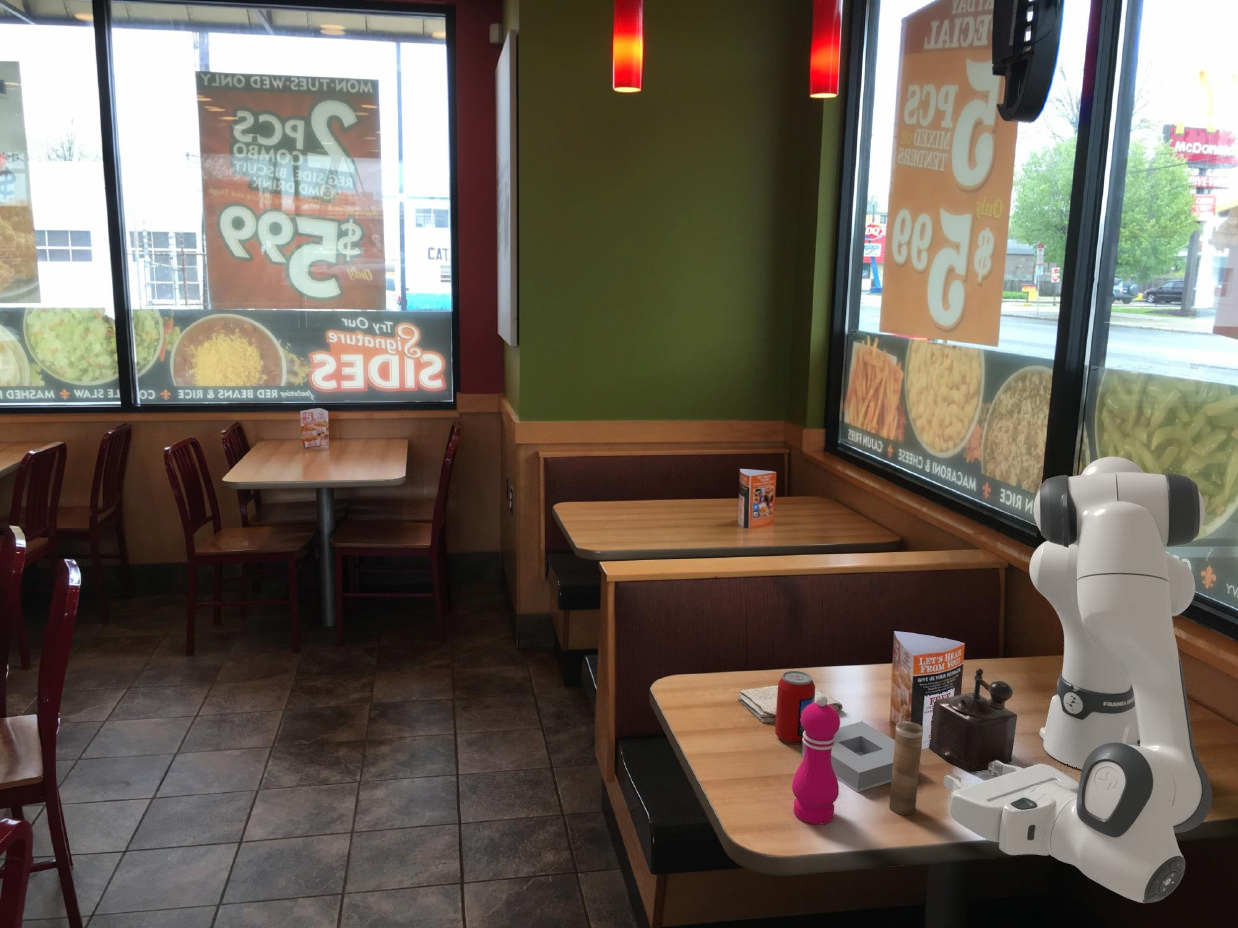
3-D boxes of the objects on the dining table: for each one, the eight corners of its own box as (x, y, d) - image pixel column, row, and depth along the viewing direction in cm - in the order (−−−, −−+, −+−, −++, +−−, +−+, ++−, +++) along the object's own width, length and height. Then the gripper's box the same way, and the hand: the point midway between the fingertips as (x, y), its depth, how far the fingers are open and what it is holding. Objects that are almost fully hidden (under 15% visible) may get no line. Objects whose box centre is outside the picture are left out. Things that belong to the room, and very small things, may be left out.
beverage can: (811, 748, 172) (816, 686, 170) (773, 743, 174) (777, 681, 171) (811, 731, 179) (816, 671, 177) (775, 727, 180) (779, 667, 178)
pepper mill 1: (842, 826, 148) (852, 705, 144) (797, 826, 147) (805, 705, 143) (829, 801, 155) (837, 685, 151) (785, 801, 154) (793, 685, 150)
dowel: (901, 799, 156) (909, 719, 153) (920, 811, 152) (928, 729, 150) (883, 805, 154) (890, 724, 151) (902, 817, 150) (910, 735, 148)
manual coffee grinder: (923, 748, 174) (932, 654, 170) (968, 737, 178) (978, 646, 175) (990, 789, 160) (1001, 688, 157) (1037, 776, 165) (1048, 678, 161)
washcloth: (733, 702, 192) (734, 687, 191) (809, 690, 198) (810, 676, 198) (763, 727, 181) (764, 712, 180) (843, 714, 188) (844, 699, 187)
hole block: (860, 738, 177) (861, 721, 176) (918, 773, 165) (919, 754, 164) (801, 755, 170) (803, 736, 169) (857, 792, 158) (859, 772, 157)
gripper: (1103, 779, 133) (1019, 738, 145) (1005, 813, 123) (923, 766, 135) (1097, 821, 134) (1014, 777, 146) (999, 858, 124) (918, 807, 136)
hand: (969, 772), depth 140 cm, fingers open, 8 cm apart
